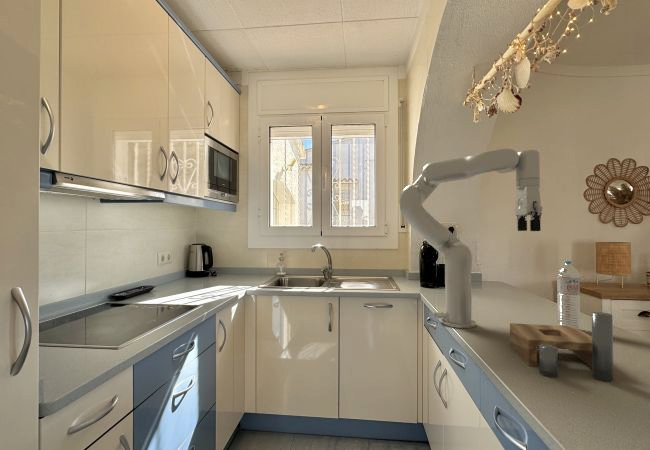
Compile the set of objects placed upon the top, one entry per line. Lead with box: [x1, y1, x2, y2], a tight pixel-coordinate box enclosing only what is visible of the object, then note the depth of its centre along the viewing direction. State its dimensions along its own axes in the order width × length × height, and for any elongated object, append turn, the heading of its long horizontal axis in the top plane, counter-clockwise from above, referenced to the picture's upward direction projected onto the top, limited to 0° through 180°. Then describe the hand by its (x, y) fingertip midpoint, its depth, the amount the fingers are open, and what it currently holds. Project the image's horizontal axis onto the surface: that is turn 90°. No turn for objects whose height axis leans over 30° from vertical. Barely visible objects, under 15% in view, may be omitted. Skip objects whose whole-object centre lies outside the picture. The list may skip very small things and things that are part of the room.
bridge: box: [509, 323, 592, 368], centre depth 99 cm, size 18×16×7 cm
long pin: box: [591, 311, 614, 383], centre depth 85 cm, size 4×4×16 cm
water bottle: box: [556, 260, 581, 330], centre depth 124 cm, size 7×7×25 cm
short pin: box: [538, 344, 559, 379], centre depth 87 cm, size 4×4×7 cm
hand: (528, 230), depth 125 cm, fingers open, 9 cm apart
